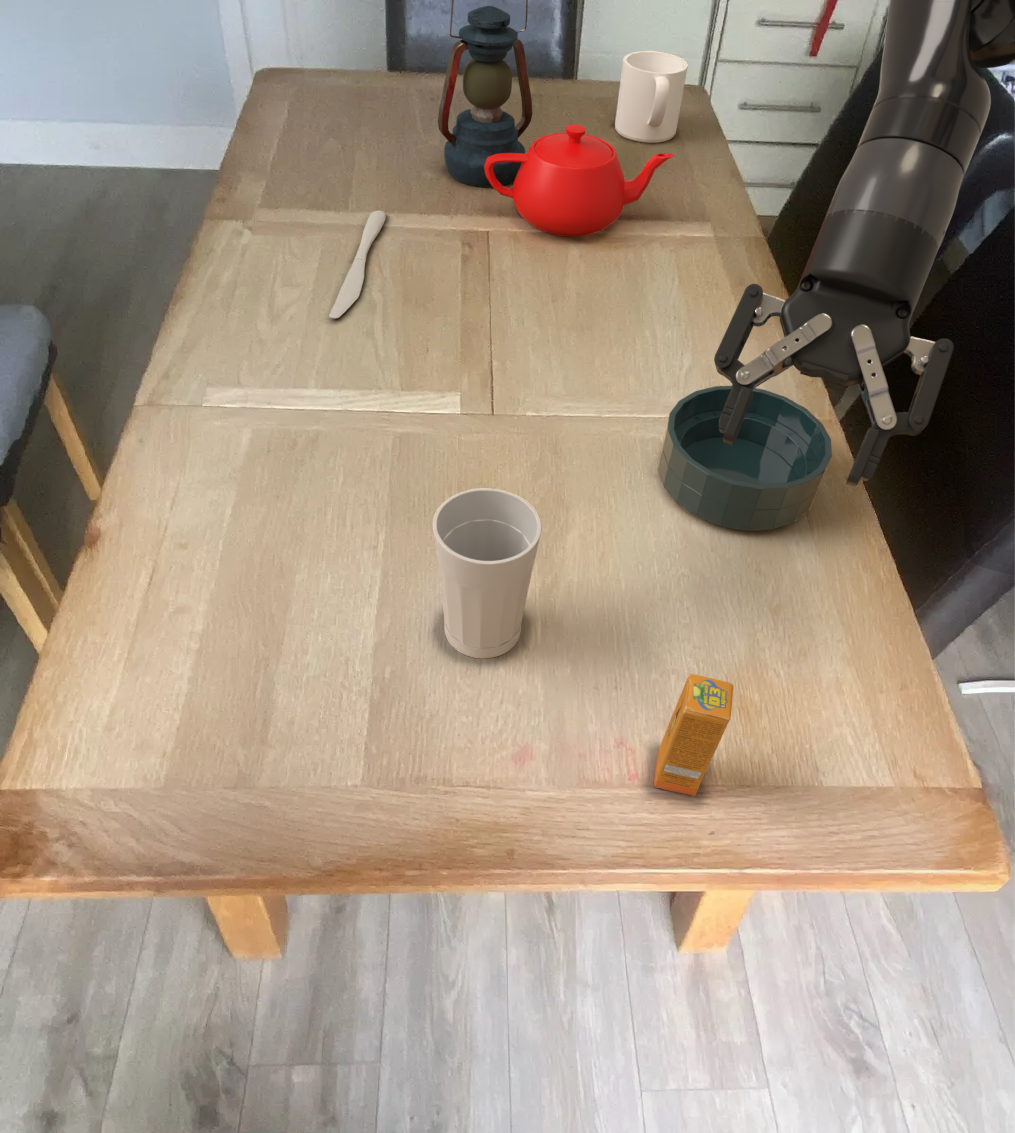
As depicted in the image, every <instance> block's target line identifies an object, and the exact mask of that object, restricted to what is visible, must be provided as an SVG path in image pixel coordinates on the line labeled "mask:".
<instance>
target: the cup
mask: <svg viewBox="0 0 1015 1133" xmlns="http://www.w3.org/2000/svg"><path fill="white" fill-rule="evenodd" d="M542 530H543V527H542V520H541V517H540V514H539V512H538V511H537V509H536V508H535V507H534V506H533V504H531V503H530V502H529V501H527V500H526V498H524V497H522V496H520V495H519V494H516V493H514V492H511V491H508V490H505V489H501V488H495V487H494V488H493V487H479V488H478V487H476V488H471V489H466V490H463V491H460V492H457V493H455V494H453V495H452V496H450V497H448V498H447V499H445V500H444V501H443V502H442V503H441V504H440V505H439V506H438V508H437V509H436V511H435V513H434V516H433V518H432V531H433V539H434V546H435V553H436V562H437V570H438V577H439V585H440V594H441V603H442V612H443V618H444V624H443V626H444V635H445V637H446V640H447V641H448V643H449V645H451V647H452V648H453V649H454V650H456V651H457V652H459V653H460V654H463V655H464V656H467V657H470V658H474V659H475V658H476V659H491V658H495V657H496V658H497V657H499V656H501V655H504V654H506V653H507V652H509V651H510V650H512V649H513V648H514V647H515V646H516V644H517V643H518V642H519V639H520V636H521V633H522V632H521V631H522V622H523V617H524V611H525V607H526V602H527V598H528V592H529V588H530V583H531V577H532V574H533V569H534V565H535V561H536V556H537V553H538V548H539V544H540V539H541V535H542Z"/></svg>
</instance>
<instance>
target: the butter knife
mask: <svg viewBox="0 0 1015 1133" xmlns="http://www.w3.org/2000/svg"><path fill="white" fill-rule="evenodd" d="M386 219H387V215H386V213H385V211H383V210H374V211H372V212H371V213H370V214H369V216H368V218H367V220H366V222H365V225H364V228H363V231H362V235H361V240H360V243H359V246H358V249H357V252H356V254H355V257H354V260H353V262H352V264H351V266H350V268H349V270H348V272H347V275H346V276H345V278H344V280H343V282H342V285H341V287H340V289H339V291H338V295H337V297H336V299H335V302H334V304H333V306H332V307H331V310H330V313H329V315H328V317H329V318H331V319H334V320H335V319H339V318H340V317H342V315H343V314H344V313H345V312H346V311H347V310H348V309H349V308H350V307H352V305H353V304H354V303H355V302H356V301H357V299H358V298H359V297H360V294H361V290H362V287H363V284H364V279H365V265H366V262H367V255H368V252H369V250H370V249H371V246H372V244H373V243H374V241H375V239H376V238H377V237H378V235H379V233H380V232H381V230H382V227H383V226H384V224H385V221H386Z"/></svg>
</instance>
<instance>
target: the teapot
mask: <svg viewBox="0 0 1015 1133" xmlns="http://www.w3.org/2000/svg"><path fill="white" fill-rule="evenodd" d="M586 131H587V128H586V127H585V126H584V125H581V124H568V125H566V126H565V132H554V133H550V134H546V135H542V136H541V137H539V138H537V139H535V140H534V141H532V143H531V145H530V146H529V148H528V151H527V152H526V153H525V154H523V153H500V154H494V155H492V156H489V157H488V158H487V160H486V162H485V165H484V169H485V175H486V177H487V179H488V181H489V182H490V184H491V185H492V187H491V188H493V189H494V190H495V191H496V192H497V193H498V194H499V195H501V196H504V197H508V198H511V199H512V200H513V204H514V206H515V208H516V211H517V212H518V214H519V215H520V216H521V218H523V220H525V221H526V222H527V223H529V224H530V225H531V226H533V227H534V228H536V229H538V230H540V231H542V232H545V233H547V234H550V235H554V236H560V237H567V238H570V237H585V236H588V235H592V234H596V233H598V232H601V231H604V230H605V229H607V228H608V227H610V226H611V225H612V224H613V223H615V222H616V221H617V220H618V219H619V218H620V216H621V214H622V213H623V211H624V206H626V205H629V204H632V203H635V202H637V201H639V200H640V198H641V197H642V196H643V194H644V192H645V190H646V189H647V188H648V186H649V184H650V182H651V180H652V177H653V175H654V173H655V171H656V170H657V169H658V168H659V167H660V166H662V165H664V163H665V162H667V161H668V160H669V159H671V158H673V157H674V156H675V154H673V153H668V152H660V153H656V154H654V155H652V156H651V157H650V159H649V160H648V161H647V162H646V163H645V164H644V167H643V168H642V170H641V171H640V173H638V175H636V176H635V177H634V178H633V179H625V175H624V172H623V168H622V165H621V162H620V160H619V155H618V153H617V150H616V148H615V147H614V146H613V145H612V144H611V143H609V142H607V141H605V140H604V139H602V138H599V137H596V136H594V135H590V134H586ZM499 162H522V164H521V166H520V168H519V171H518V173H517V176H516V178H515V180H514V181H513V184H512V188H511V187H508V186H505V185H501V184H500V182H499V181H498V180H497V179H496V176H495V174H494V171H493V165H494V164H496V163H499Z"/></svg>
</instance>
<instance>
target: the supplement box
mask: <svg viewBox="0 0 1015 1133" xmlns="http://www.w3.org/2000/svg"><path fill="white" fill-rule="evenodd" d="M733 694H734V684H732V683H730V682H727V681H724V680H720V679H716V678H713V677H708V676H704V675H699V674H694V673H689V674H688V676H687V679H686V681H685V682H684V686H683V688H682V690H681V693H680V695H679V696H678V697H679V698H678V700H677V703H676V705H675V707H674V710H673V712H672V715H671V718H670V719H669V722H668V725H667V727H666V730H665V732H664V735H663V737H662V740H661V743H660V745H659V747H658V751H657V757H656V764H655V769H654V770H655V771H654V778H653V787H654V788H658V789H662V790H665V791H668V792H669V791H670V792H674V793H679V794H684V795H688V796H693V797H695V796H697V793H698V789H699V788H700V785H701V784H702V781H703V778H704V776H705V775H706V773H707V770H708V769H709V766H710V764H711V762H712V760H713V757H714V755H715V753H716V751H717V749H718V746H719V744H720V741H721V739H722V737H723V735H724V733H725V730H726V729H727V726H728V725H729V722H730V721H731V718H732V709H733Z"/></svg>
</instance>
